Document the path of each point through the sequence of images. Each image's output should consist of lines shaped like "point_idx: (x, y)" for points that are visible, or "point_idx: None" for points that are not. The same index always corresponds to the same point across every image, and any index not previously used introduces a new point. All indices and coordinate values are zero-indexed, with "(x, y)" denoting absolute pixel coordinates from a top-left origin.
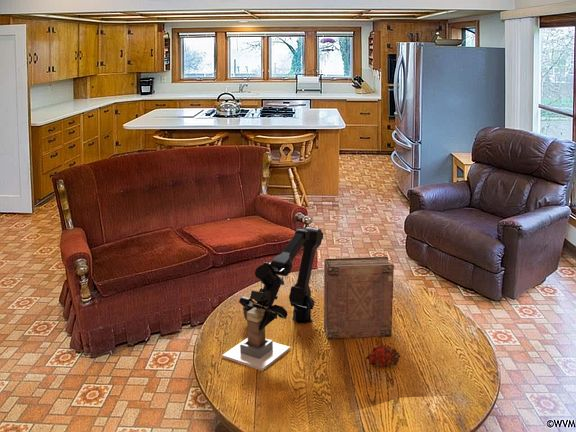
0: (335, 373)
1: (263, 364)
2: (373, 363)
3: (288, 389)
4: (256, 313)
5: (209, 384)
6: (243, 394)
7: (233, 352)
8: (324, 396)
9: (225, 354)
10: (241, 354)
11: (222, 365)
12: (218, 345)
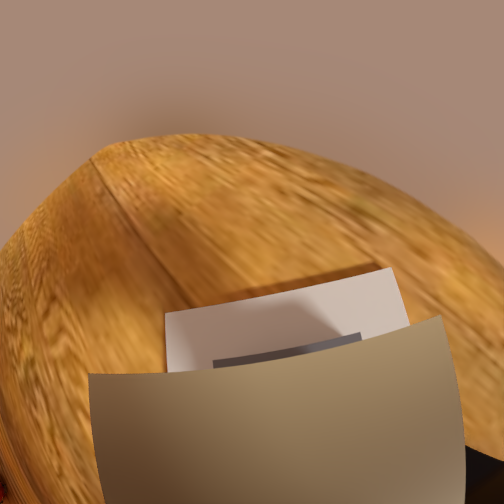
0: (21, 423)
1: (180, 339)
2: (3, 485)
3: (65, 285)
4: (152, 442)
5: (262, 152)
6: (149, 189)
7: (377, 318)
8: (11, 315)
9: (385, 279)
10: (333, 335)
11: (332, 234)
12: (475, 320)
